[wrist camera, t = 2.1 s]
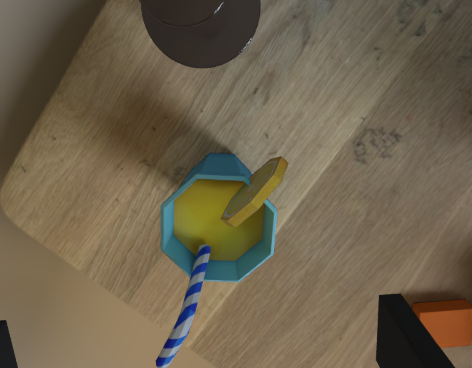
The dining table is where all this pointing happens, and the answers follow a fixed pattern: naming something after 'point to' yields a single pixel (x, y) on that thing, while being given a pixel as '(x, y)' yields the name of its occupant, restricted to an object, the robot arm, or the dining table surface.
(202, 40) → the sake bottle
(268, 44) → the dining table surface
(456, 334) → the orange rectangular block
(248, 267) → the cup
